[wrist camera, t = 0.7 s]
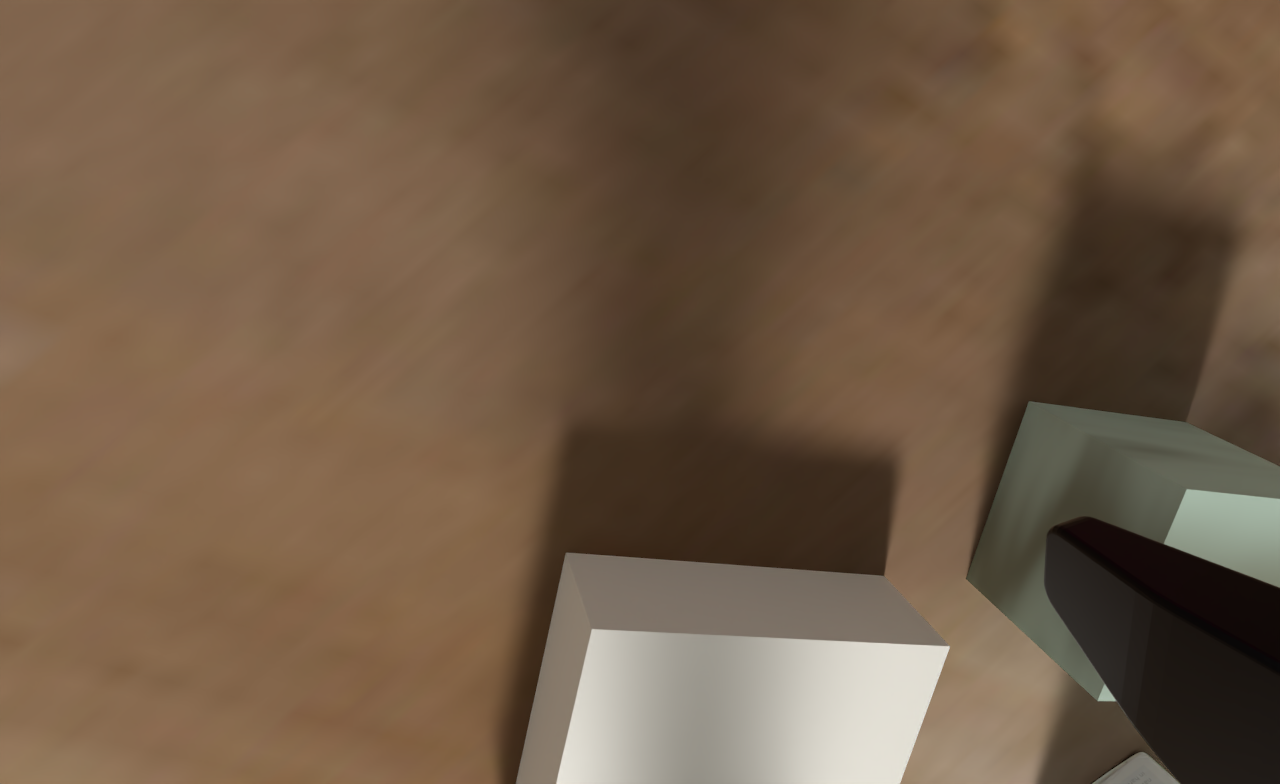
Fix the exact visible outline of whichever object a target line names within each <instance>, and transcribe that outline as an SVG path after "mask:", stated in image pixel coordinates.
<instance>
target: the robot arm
mask: <svg viewBox="0 0 1280 784" xmlns="http://www.w3.org/2000/svg"><path fill="white" fill-rule="evenodd" d="M1044 587H1045V591H1046V594H1047V597H1048V599H1049V601H1050V603H1051V605H1052V606H1053V608H1054V609H1055V611H1056V612H1057V614H1058V615H1059V617H1060V618H1061V620H1062V621H1063V623H1064V624H1065V626H1066V627H1067V629H1068V630H1069V632H1070V633H1071V635H1072V636H1073V638H1074V639H1075V641H1076V642H1077V644H1078V645H1079V647H1080V648H1081V649H1082V651H1083V652H1084V654H1085V655H1086V657H1087V658H1088V660H1089V661H1090V663H1091V664H1092V666H1093V667H1094V669H1095V670H1096V672H1097V673H1098V675H1099V676H1100V678H1101V679H1102V681H1103V682H1104V684H1105V685H1106V687H1107V688H1108V690H1109V691H1110V693H1111V694H1112V696H1113V697H1114V699H1115V700H1116V702H1117V703H1118V705H1119V706H1120V708H1121V709H1122V710H1123V712H1124V713H1125V715H1126V716H1127V717H1128V719H1129V720H1130V722H1131V723H1132V724H1133V726H1134V727H1135V729H1136V730H1137V731H1138V732H1139V734H1140V735H1141V736H1142V737H1143V739H1144V740H1145V741H1146V742H1147V744H1148V745H1149V746H1150V748H1151V749H1152V750H1153V751H1154V752H1155V754H1156V755H1157V756H1158V757H1159V758H1160V760H1161V761H1162V762H1163V763H1164V764H1165V766H1166V767H1167V768H1168V769H1169V770H1170V772H1171V773H1172V774H1173V775H1174V777H1175V778H1176V779H1177V780H1178V781H1179V783H1180V784H1280V587H1277V586H1274V585H1272V584H1269V583H1266V582H1264V581H1261V580H1258V579H1256V578H1253V577H1251V576H1248V575H1245V574H1243V573H1240V572H1237V571H1235V570H1232V569H1229V568H1227V567H1224V566H1221V565H1219V564H1216V563H1213V562H1211V561H1208V560H1205V559H1203V558H1200V557H1197V556H1195V555H1192V554H1189V553H1187V552H1184V551H1181V550H1179V549H1176V548H1174V547H1171V546H1168V545H1166V544H1163V543H1160V542H1158V541H1155V540H1152V539H1150V538H1147V537H1144V536H1142V535H1139V534H1136V533H1134V532H1131V531H1128V530H1126V529H1123V528H1120V527H1118V526H1115V525H1112V524H1110V523H1107V522H1105V521H1102V520H1099V519H1097V518H1093V517H1089V516H1080V517H1076V518H1074V519H1071V520H1068V521H1065V522H1062V523H1060V524H1057V525H1054V526H1053V527H1051V528H1050V530H1049V531H1048V533H1047V536H1046V549H1045V567H1044Z"/></svg>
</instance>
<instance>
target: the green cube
mask: <svg viewBox="0 0 1280 784" xmlns="http://www.w3.org/2000/svg"><path fill="white" fill-rule="evenodd" d="M1080 516H1089V517H1093V518H1097V519H1099V520H1102V521H1105V522H1107V523H1110V524H1112V525H1115V526H1118V527H1120V528H1123V529H1126V530H1128V531H1131V532H1134V533H1136V534H1139V535H1142V536H1144V537H1147V538H1150V539H1152V540H1155V541H1158V542H1160V543H1163V544H1166V545H1168V546H1171V547H1174V548H1176V549H1179V550H1181V551H1184V552H1187V553H1189V554H1192V555H1195V556H1197V557H1200V558H1203V559H1205V560H1208V561H1211V562H1213V563H1216V564H1219V565H1221V566H1224V567H1227V568H1229V569H1232V570H1235V571H1237V572H1240V573H1243V574H1245V575H1248V576H1251V577H1253V578H1256V579H1258V580H1261V581H1264V582H1266V583H1269V584H1272V585H1274V586H1277V587H1280V466H1278V465H1276V464H1273V463H1271V462H1269V461H1267V460H1265V459H1263V458H1261V457H1259V456H1257V455H1254V454H1252V453H1250V452H1248V451H1246V450H1244V449H1242V448H1240V447H1238V446H1235V445H1233V444H1231V443H1229V442H1227V441H1225V440H1223V439H1221V438H1218V437H1216V436H1214V435H1212V434H1210V433H1208V432H1206V431H1204V430H1202V429H1199V428H1197V427H1195V426H1193V425H1191V424H1189V423H1187V422H1181V421H1174V420H1166V419H1159V418H1151V417H1144V416H1136V415H1129V414H1121V413H1114V412H1106V411H1099V410H1091V409H1084V408H1076V407H1069V406H1061V405H1054V404H1046V403H1039V402H1031V401H1029V402H1028V405H1027V408H1026V411H1025V414H1024V417H1023V419H1022V422H1021V425H1020V428H1019V431H1018V434H1017V436H1016V439H1015V442H1014V445H1013V448H1012V451H1011V453H1010V456H1009V459H1008V462H1007V465H1006V468H1005V470H1004V473H1003V476H1002V479H1001V482H1000V484H999V487H998V490H997V493H996V496H995V499H994V501H993V504H992V507H991V510H990V513H989V516H988V518H987V521H986V524H985V527H984V530H983V533H982V535H981V538H980V541H979V544H978V547H977V549H976V552H975V555H974V558H973V561H972V564H971V566H970V569H969V572H968V575H967V578H966V579H967V580H968V581H969V582H970V583H971V584H972V585H973V586H974V587H975V588H976V589H978V590H979V591H980V592H981V593H982V594H983V595H984V596H985V597H986V598H987V599H988V600H989V601H990V602H991V603H993V604H994V605H995V606H996V607H997V608H998V609H999V610H1000V611H1001V612H1002V613H1003V614H1004V615H1005V616H1007V617H1008V618H1009V619H1010V620H1011V621H1012V622H1013V623H1014V624H1015V625H1016V626H1017V627H1018V628H1019V629H1020V630H1022V631H1023V632H1024V633H1025V634H1026V635H1027V636H1028V637H1029V638H1030V639H1031V640H1032V641H1033V642H1034V643H1036V644H1037V645H1038V646H1039V647H1040V648H1041V649H1042V650H1043V651H1044V652H1045V653H1046V654H1047V655H1048V656H1049V657H1051V658H1052V659H1053V660H1054V661H1055V662H1056V663H1057V664H1058V665H1059V666H1060V667H1061V668H1062V669H1063V670H1065V671H1066V672H1067V673H1068V674H1069V675H1070V676H1071V677H1072V678H1073V679H1074V680H1075V681H1076V682H1077V683H1078V684H1080V685H1081V686H1082V687H1083V688H1084V689H1085V690H1086V691H1087V692H1088V693H1089V694H1090V695H1091V696H1092V697H1094V698H1095V699H1096V700H1097V701H1116V700H1115V699H1114V697H1113V696H1112V694H1111V693H1110V691H1109V690H1108V688H1107V687H1106V685H1105V684H1104V682H1103V681H1102V679H1101V678H1100V676H1099V675H1098V673H1097V672H1096V670H1095V669H1094V667H1093V666H1092V664H1091V663H1090V661H1089V660H1088V658H1087V657H1086V655H1085V654H1084V652H1083V651H1082V649H1081V648H1080V647H1079V645H1078V644H1077V642H1076V641H1075V639H1074V638H1073V636H1072V635H1071V633H1070V632H1069V630H1068V629H1067V627H1066V626H1065V624H1064V623H1063V621H1062V620H1061V618H1060V617H1059V615H1058V614H1057V612H1056V611H1055V609H1054V608H1053V606H1052V605H1051V603H1050V601H1049V599H1048V597H1047V594H1046V591H1045V587H1044V567H1045V549H1046V536H1047V533H1048V531H1049V530H1050V528H1051V527H1053V526H1054V525H1057V524H1060V523H1062V522H1065V521H1068V520H1071V519H1074V518H1076V517H1080Z"/></svg>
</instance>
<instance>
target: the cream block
mask: <svg viewBox="0 0 1280 784" xmlns="http://www.w3.org/2000/svg"><path fill="white" fill-rule="evenodd" d="M949 648H950V646H949V645H948V644H947V643H946V642H945V640H944V639H943V638H942V637H941V636H940V635H939V634H938V633H937V632H936V631H935V630H934V629H933V628H932V627H931V625H930V624H929V623H928V622H927V621H926V620H925V619H924V618H923V617H922V616H921V615H920V614H919V613H918V612H917V611H916V609H915V608H914V607H913V606H912V605H911V604H910V603H909V602H908V601H907V600H906V599H905V598H904V597H903V596H902V594H901V593H900V592H899V591H898V590H897V589H896V588H895V587H894V586H893V585H892V584H891V583H890V582H889V581H888V579H887V578H886V577H885V576H880V575H866V574H853V573H839V572H825V571H812V570H798V569H785V568H771V567H757V566H744V565H730V564H716V563H703V562H689V561H675V560H662V559H648V558H635V557H621V556H607V555H594V554H580V553H566V554H565V559H564V563H563V568H562V573H561V577H560V582H559V586H558V591H557V596H556V600H555V605H554V610H553V614H552V619H551V623H550V628H549V633H548V637H547V642H546V646H545V651H544V656H543V660H542V665H541V669H540V674H539V679H538V683H537V688H536V693H535V697H534V702H533V706H532V711H531V716H530V720H529V725H528V729H527V734H526V739H525V743H524V748H523V752H522V757H521V762H520V766H519V771H518V776H517V780H516V784H900V782H901V779H902V776H903V774H904V771H905V768H906V766H907V763H908V760H909V757H910V755H911V752H912V749H913V746H914V744H915V741H916V738H917V735H918V733H919V730H920V727H921V725H922V722H923V719H924V716H925V714H926V711H927V708H928V705H929V703H930V700H931V697H932V695H933V692H934V689H935V686H936V684H937V681H938V678H939V675H940V673H941V670H942V667H943V664H944V662H945V659H946V656H947V654H948V651H949Z"/></svg>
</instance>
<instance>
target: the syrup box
mask: <svg viewBox="0 0 1280 784" xmlns="http://www.w3.org/2000/svg"><path fill="white" fill-rule="evenodd" d="M1092 784H1180V783H1179V782H1178V781H1177V780H1176V779H1175V778H1174V777H1173V776H1172V775H1171V774H1170V773H1168V772H1167V771H1166V770H1165V769H1164V768H1163V767H1162V766H1161V765H1160V764H1158V763H1157V762H1156V761H1155V760H1154V759H1153V758H1152V757H1151V756H1149V755H1148V754H1147V753H1144V752H1139V753H1136V754H1135V755H1133V756H1131V757H1130V758H1128V759H1127V760H1126V761H1124V762H1123V763H1121V764H1119V765H1118V766H1116V767H1115V768H1113V769H1112V770H1110V771H1109V772H1107V773H1106V774H1105V775H1103V776H1102V777H1101V778H1099V779H1098V780H1096V781H1095V782H1094V783H1092Z"/></svg>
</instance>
